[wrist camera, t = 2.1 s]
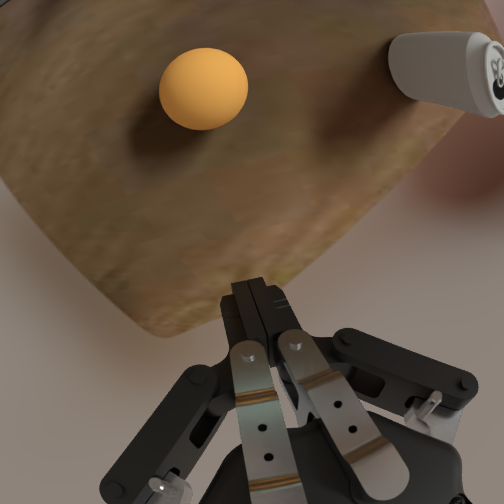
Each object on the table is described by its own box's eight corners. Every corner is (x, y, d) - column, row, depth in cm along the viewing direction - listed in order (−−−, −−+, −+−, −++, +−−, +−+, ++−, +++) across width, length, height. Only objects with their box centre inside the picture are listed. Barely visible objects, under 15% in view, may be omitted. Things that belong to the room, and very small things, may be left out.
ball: (158, 62, 17) (149, 49, 12) (235, 51, 18) (253, 36, 13) (168, 132, 20) (162, 143, 15) (242, 120, 21) (261, 128, 16)
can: (390, 102, 22) (489, 128, 12) (374, 33, 18) (475, 27, 8) (435, 96, 22) (522, 120, 12) (423, 35, 18) (513, 40, 8)
